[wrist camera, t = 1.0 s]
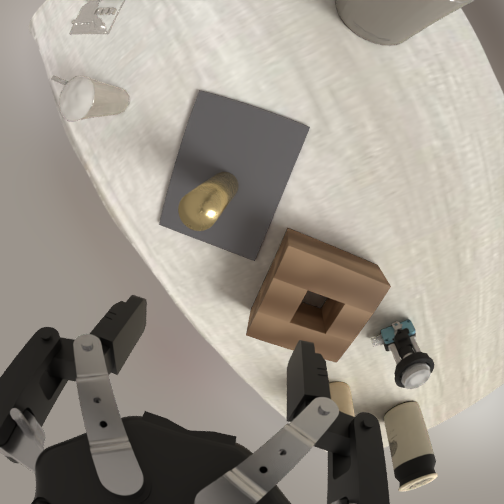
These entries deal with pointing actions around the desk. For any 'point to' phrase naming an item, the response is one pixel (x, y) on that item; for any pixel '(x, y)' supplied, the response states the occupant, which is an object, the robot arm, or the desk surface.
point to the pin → (207, 201)
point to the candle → (342, 397)
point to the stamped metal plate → (92, 19)
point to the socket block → (323, 283)
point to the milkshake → (90, 99)
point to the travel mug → (410, 446)
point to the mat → (234, 169)
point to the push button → (406, 354)
